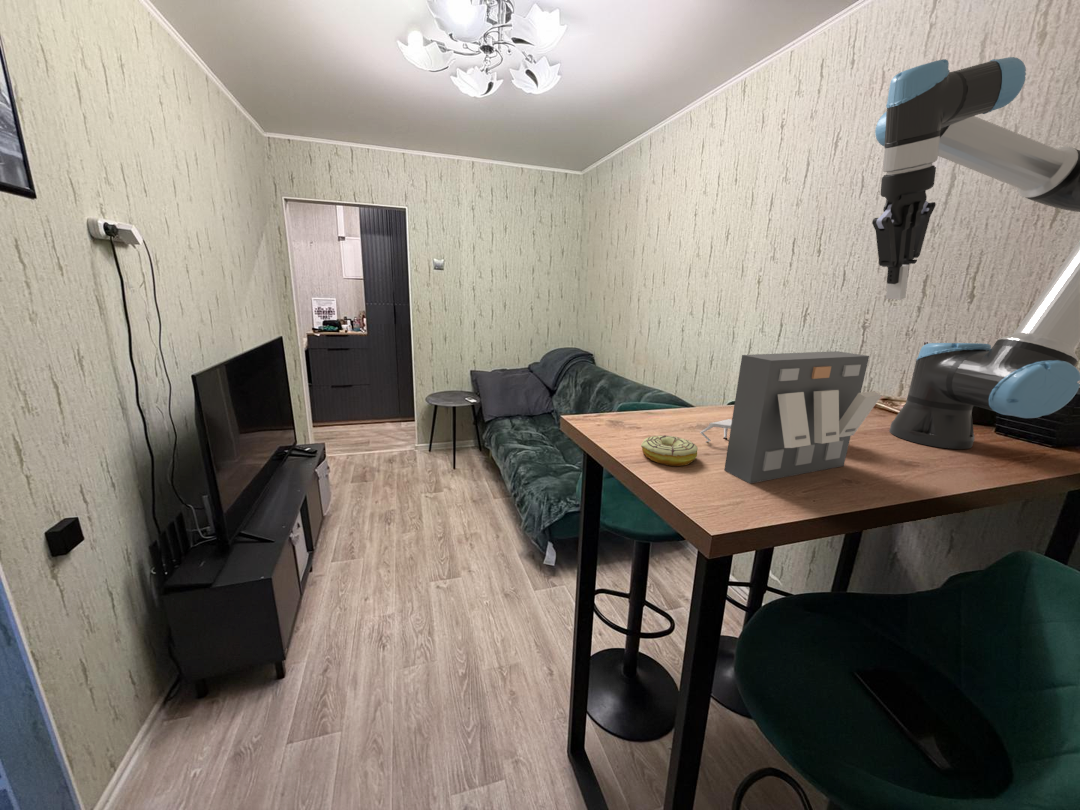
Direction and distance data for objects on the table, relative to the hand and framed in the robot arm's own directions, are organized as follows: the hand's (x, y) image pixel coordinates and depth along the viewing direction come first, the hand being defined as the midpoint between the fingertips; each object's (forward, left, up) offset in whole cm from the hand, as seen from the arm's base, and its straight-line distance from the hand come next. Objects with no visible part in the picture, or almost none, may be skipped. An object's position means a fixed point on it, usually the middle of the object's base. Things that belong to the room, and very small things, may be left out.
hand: (895, 298), depth 87 cm
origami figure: (+29, +3, -33) cm, 44 cm away
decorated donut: (+43, +14, -33) cm, 56 cm away
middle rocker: (+18, +21, -25) cm, 37 cm away
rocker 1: (+25, +26, -24) cm, 43 cm away
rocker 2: (+12, +15, -25) cm, 32 cm away
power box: (+21, +15, -32) cm, 42 cm away
